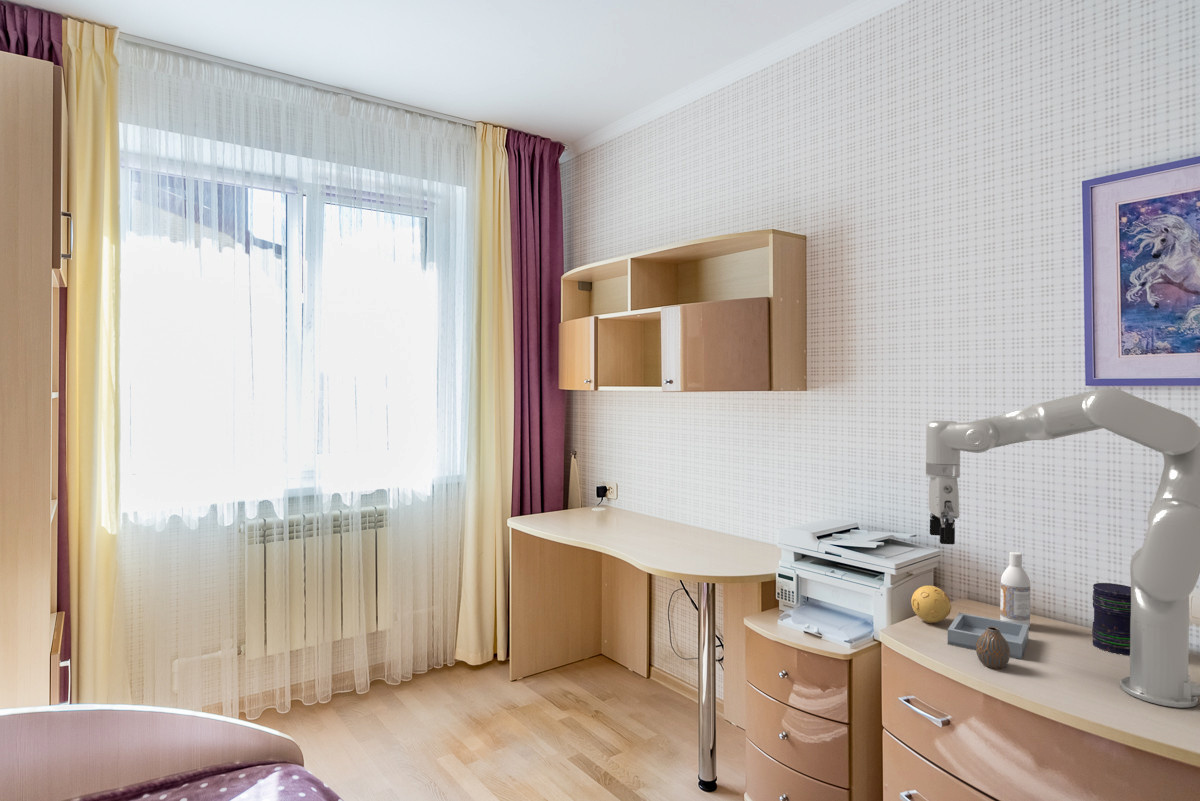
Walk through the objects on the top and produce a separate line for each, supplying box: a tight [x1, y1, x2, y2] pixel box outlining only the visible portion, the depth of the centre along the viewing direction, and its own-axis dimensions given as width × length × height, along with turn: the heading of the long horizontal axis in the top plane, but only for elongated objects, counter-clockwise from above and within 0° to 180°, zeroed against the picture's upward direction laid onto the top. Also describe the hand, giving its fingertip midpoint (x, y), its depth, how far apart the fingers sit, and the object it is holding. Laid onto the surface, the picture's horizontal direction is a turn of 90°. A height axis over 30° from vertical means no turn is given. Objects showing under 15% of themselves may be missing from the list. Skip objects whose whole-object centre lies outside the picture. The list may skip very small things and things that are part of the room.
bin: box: [947, 612, 1030, 661], centre depth 172 cm, size 16×16×4 cm
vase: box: [975, 627, 1011, 670], centre depth 157 cm, size 7×7×9 cm
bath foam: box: [999, 551, 1031, 628], centre depth 183 cm, size 7×7×20 cm
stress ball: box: [910, 585, 952, 624], centre depth 186 cm, size 10×10×10 cm
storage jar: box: [1091, 582, 1131, 656], centre depth 168 cm, size 10×10×15 cm
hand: (941, 539), depth 166 cm, fingers open, 9 cm apart
